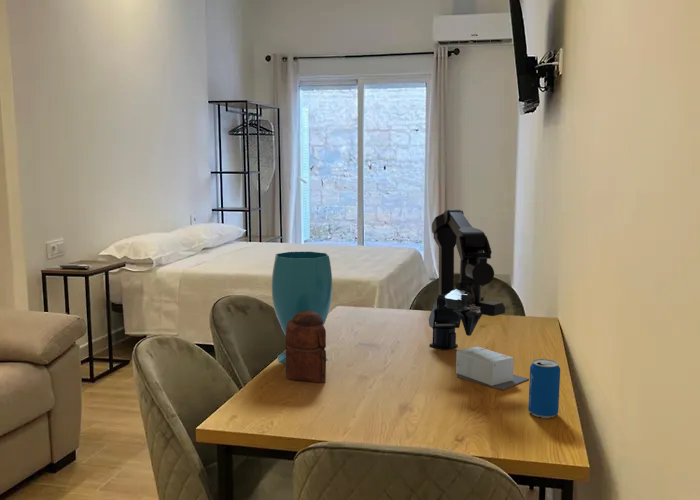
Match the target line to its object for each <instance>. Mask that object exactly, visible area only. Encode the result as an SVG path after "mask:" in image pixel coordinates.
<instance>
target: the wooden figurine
mask: <svg viewBox="0 0 700 500" xmlns="http://www.w3.org/2000/svg"><path fill="white" fill-rule="evenodd" d="M322 324H323V319H322V317H321V316H320V315H319V314H317V313H316V312H314V311H301V312H299V313H297V314H296V315H295V316H294V317H293V318H292V320H290V321H288V323H287V326H286V336H285V339H284V340H285V350H286V364H285V377H286V378H287V379H290V380H293V381H299V382H300V381H301V382H310V383H318V384H320V383H321V384H322V383H326V379H327V376H326V375H327V360H326V358H327V353H326V352H327V351H326V347H327V333H326V332H327V331H326V328H325V325H324V326H323V325H322Z"/></svg>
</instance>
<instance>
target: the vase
mask: <svg viewBox="0 0 700 500" xmlns="http://www.w3.org/2000/svg"><path fill="white" fill-rule="evenodd" d="M271 275H272V276H271V298H272V305H273V309H274V312H275V315H276V318H277V320H278V322H279V325H280V327H281V329H282V332H283V334H284V336H285V337H286V326H287V323H288V321H290V320H292V318H293V317H294V316H295V315H296V314H297V313H299V312H301V311H314V312H316V313H317V314H319V315H320V316H321V317H322V319H323V324H322V325H323V326H324V327H325V324H326V321H327V318H328V316H329V313H330V309H331V304H332V300H333V299H332V298H333V275H332V266H331V260H330V255H328V253H327V252H318V251H317V252H316V251H286V252H281V253H280V252H279V253H275V257H274V263H273V267H272V274H271ZM277 360H278V363H282V364H285V365H286V349H285V350H283V352H282V353H280V354H278V355H277ZM326 361H328V358H327V357H326Z"/></svg>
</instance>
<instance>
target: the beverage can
mask: <svg viewBox="0 0 700 500" xmlns="http://www.w3.org/2000/svg"><path fill="white" fill-rule="evenodd" d="M528 381H529V384H528V386H529V387H528V406H527V407H528V411H529V412H530V413H531V415H532V416H534V417H536V418H539V417H541V418H540V419H551V418H550V417H552V418H554V417H555V416H557V415H558V414H559V408H560V407H559V404H560V384H561V367H560V366H559V362H558V361H556V360H554V359H549V358H536V359H533V360H532V362H531V364H530V366H529V380H528Z"/></svg>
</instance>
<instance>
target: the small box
mask: <svg viewBox="0 0 700 500" xmlns="http://www.w3.org/2000/svg"><path fill="white" fill-rule="evenodd" d="M455 356H456V358H455V362H456V363H455V373H456V374H458V375H463V376H466V377H468V378H471V379H474V380H477V381H480V382H482V383H485V384H488V385H491V386H494V385H498V384H501V383H506V382H509V381H513V375H514V363H515V357H512V356H509V355H506V354H504V353H500V352H496V351H492V350H489V349H487V348H483V347H481V346H473V347H468V348H463V349H459V350H456V355H455Z"/></svg>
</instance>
